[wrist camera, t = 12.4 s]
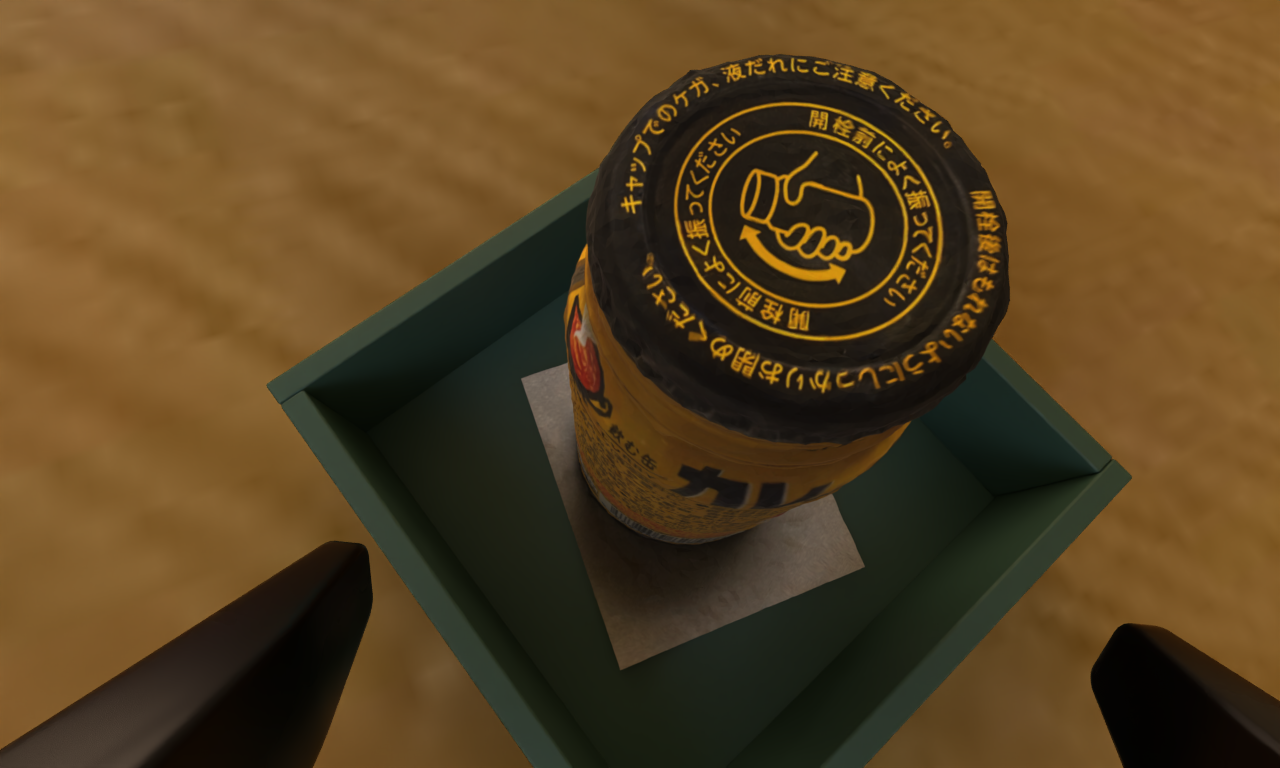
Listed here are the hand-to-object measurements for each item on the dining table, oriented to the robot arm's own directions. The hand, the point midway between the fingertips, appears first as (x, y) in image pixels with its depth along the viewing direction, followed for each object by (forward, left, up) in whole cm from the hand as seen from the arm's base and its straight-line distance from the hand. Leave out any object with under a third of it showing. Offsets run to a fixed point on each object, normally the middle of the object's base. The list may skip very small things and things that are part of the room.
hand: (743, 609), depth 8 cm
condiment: (+2, -3, -11) cm, 11 cm away
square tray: (+2, -3, -11) cm, 12 cm away
